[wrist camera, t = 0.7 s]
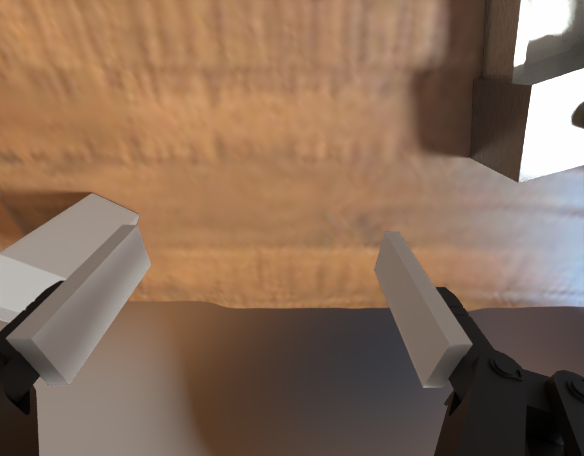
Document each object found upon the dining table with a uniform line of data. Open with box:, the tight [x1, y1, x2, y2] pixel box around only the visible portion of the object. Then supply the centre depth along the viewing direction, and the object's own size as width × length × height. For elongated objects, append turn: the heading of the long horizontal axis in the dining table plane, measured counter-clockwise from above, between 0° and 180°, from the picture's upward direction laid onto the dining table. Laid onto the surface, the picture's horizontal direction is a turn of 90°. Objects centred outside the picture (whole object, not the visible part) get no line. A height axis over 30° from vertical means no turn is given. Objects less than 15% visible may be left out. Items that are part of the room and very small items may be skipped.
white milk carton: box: [0, 193, 139, 323], centre depth 33 cm, size 7×7×19 cm
